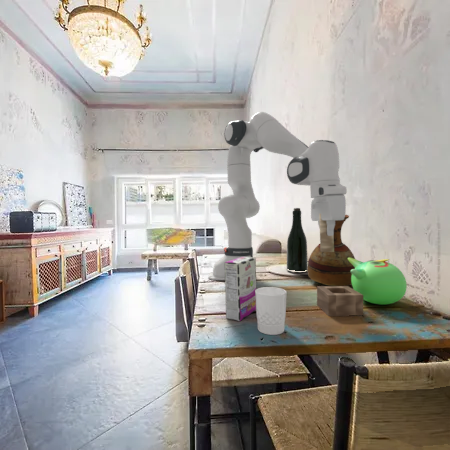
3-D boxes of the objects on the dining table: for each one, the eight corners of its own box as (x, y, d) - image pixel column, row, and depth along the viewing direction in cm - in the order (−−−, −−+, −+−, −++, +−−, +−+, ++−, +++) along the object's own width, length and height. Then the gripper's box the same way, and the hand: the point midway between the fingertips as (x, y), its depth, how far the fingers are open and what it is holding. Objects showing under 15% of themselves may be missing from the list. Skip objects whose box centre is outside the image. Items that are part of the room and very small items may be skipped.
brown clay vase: (310, 289, 107) (310, 213, 106) (304, 277, 127) (304, 213, 126) (364, 291, 103) (364, 212, 102) (349, 279, 123) (349, 213, 122)
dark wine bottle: (296, 268, 148) (296, 208, 147) (311, 271, 140) (311, 207, 138) (282, 270, 143) (282, 208, 142) (297, 274, 134) (297, 207, 133)
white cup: (267, 339, 64) (267, 297, 64) (249, 327, 71) (249, 289, 71) (293, 332, 68) (293, 292, 67) (273, 321, 75) (273, 285, 74)
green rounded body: (414, 314, 79) (415, 264, 78) (350, 308, 84) (351, 261, 84) (396, 296, 96) (397, 255, 95) (344, 292, 101) (345, 253, 101)
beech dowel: (323, 252, 84) (321, 213, 84) (318, 250, 88) (317, 213, 88) (336, 251, 84) (334, 213, 84) (331, 250, 88) (329, 213, 88)
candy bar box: (243, 307, 87) (242, 256, 86) (257, 310, 84) (256, 257, 83) (224, 318, 77) (223, 261, 77) (239, 322, 74) (239, 262, 74)
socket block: (328, 316, 78) (328, 295, 78) (317, 304, 88) (317, 286, 88) (363, 315, 78) (363, 295, 78) (347, 304, 88) (347, 286, 88)
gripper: (305, 195, 96) (307, 234, 96) (326, 187, 76) (328, 237, 76) (323, 194, 96) (324, 233, 96) (349, 186, 75) (351, 236, 76)
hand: (326, 235), depth 86 cm, fingers closed on beech dowel, 4 cm apart
